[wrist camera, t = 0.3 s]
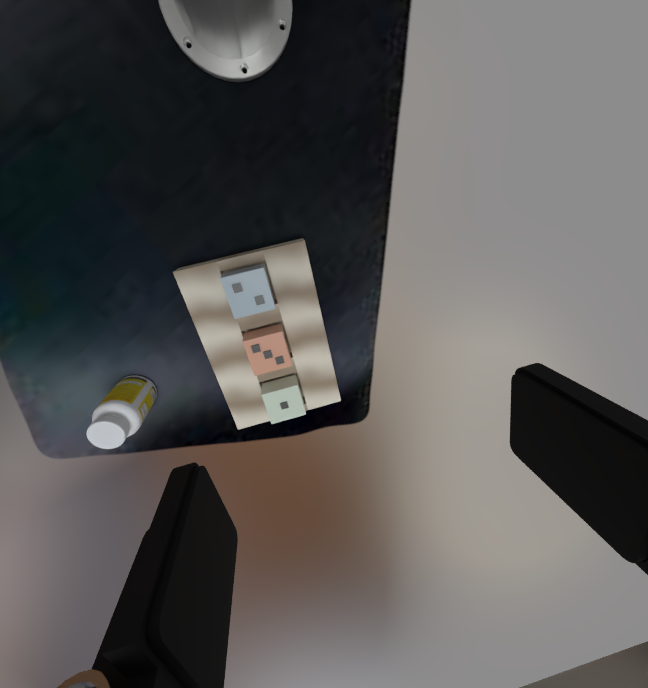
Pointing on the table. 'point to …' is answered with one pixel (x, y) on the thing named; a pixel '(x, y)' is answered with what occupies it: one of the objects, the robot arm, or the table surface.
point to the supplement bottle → (121, 412)
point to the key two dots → (248, 291)
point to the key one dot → (283, 399)
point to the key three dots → (267, 349)
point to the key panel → (291, 312)
